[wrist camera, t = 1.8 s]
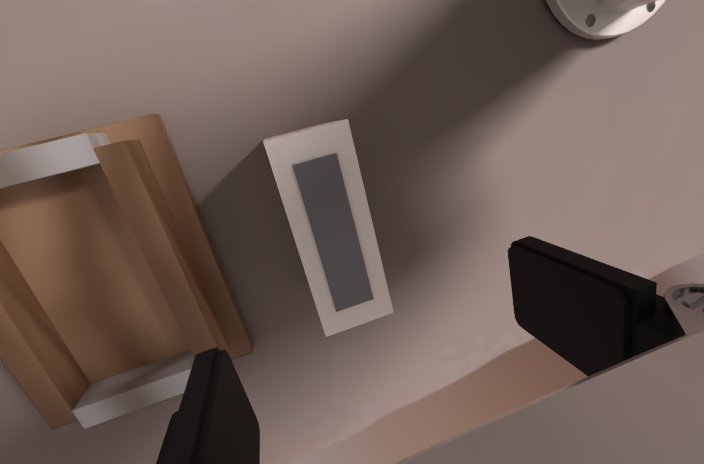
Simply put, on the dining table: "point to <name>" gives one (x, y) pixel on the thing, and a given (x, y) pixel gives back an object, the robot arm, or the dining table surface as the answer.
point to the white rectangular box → (331, 223)
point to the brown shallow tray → (107, 274)
